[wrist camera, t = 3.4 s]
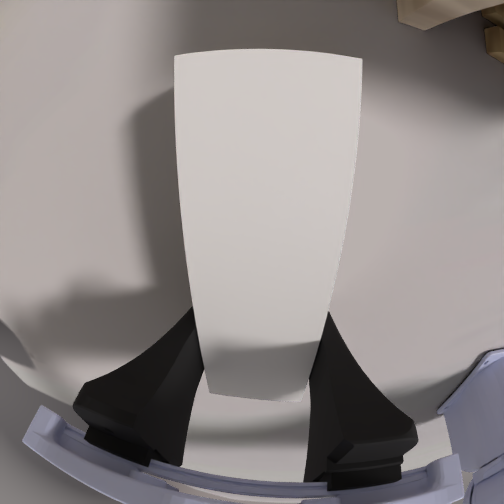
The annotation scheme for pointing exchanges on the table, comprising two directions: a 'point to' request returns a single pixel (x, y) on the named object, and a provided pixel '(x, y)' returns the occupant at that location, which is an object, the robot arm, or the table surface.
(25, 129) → the table surface
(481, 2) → the cubby
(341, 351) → the robot arm
